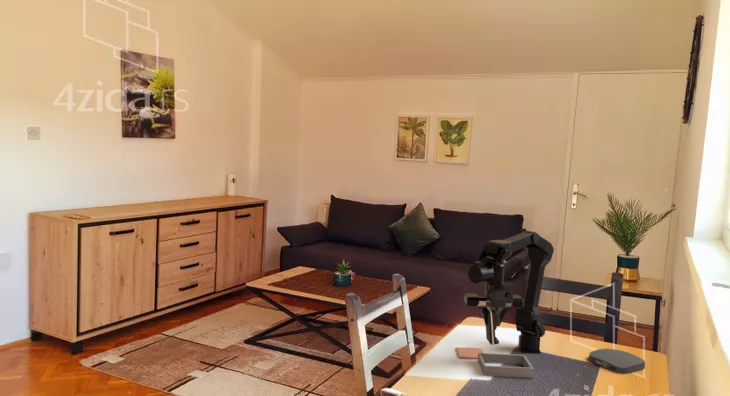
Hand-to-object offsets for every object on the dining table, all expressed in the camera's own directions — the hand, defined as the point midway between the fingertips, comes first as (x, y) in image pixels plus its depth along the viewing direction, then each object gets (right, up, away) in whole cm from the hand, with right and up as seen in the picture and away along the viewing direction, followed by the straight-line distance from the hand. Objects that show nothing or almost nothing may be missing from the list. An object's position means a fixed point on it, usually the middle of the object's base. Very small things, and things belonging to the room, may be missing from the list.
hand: (492, 325), depth 178 cm
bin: (+3, -13, -4) cm, 14 cm away
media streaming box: (+43, -15, +5) cm, 46 cm away
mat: (-5, -12, +8) cm, 16 cm away
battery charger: (+1, -6, 0) cm, 6 cm away
